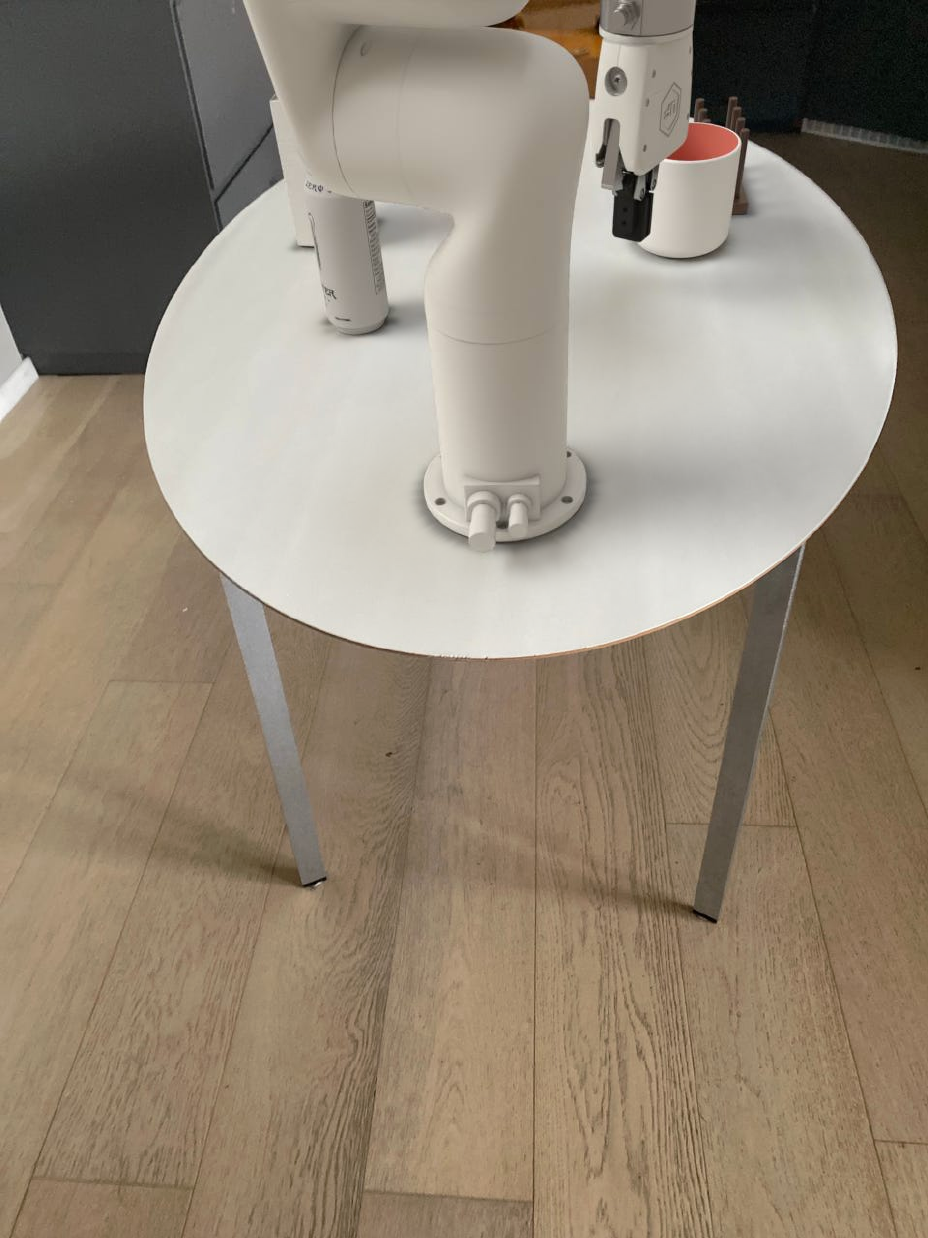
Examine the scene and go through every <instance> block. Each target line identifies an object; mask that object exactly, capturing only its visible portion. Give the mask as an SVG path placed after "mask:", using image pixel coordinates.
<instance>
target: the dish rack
mask: <svg viewBox="0 0 928 1238" xmlns="http://www.w3.org/2000/svg"><path fill="white" fill-rule="evenodd" d="M738 98H739V97H737V96H729V98H728V106H727V114H726V120H725V128H727V129H729V130H731V131H733V132H734V133H736V134H737V135H738V136H739V137H740V139H741V151H740V158H739V165H738V172H737V179H736V186H735V193H734V200H733V207H732V214H731V215H746V214H748V210H749V199H748V197H747V194H746V191H745V188H744V184H743V180H744V179H743V178H744V172H745V164H746V158H747V151H748V144H749V137H750V129H749V128H746V127H745V126H746V118H745V117H742V107H740V106H738ZM711 121H712V120H711V119H709V118H708V109H707V108H705V99H704V98H702V97H699V98H696V99H695V106H694V116H693V122H699V123H708V124H712V123H711Z"/></svg>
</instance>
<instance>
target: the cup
mask: <svg viewBox="0 0 928 1238" xmlns="http://www.w3.org/2000/svg"><path fill="white" fill-rule="evenodd" d="M740 151H741V139H740V137H739V136H738V135H737V134H736V133H734V132H733V131H731V130H729V129H727V128H726V126H725V127H724V126H721V125H717V124H715V123H714V124H713V123H710V124H708V123H699V122H694V121H689V128H688V135H687V138H686V140H685V142H684V143H683V145H682V146H681V147H680V148H678V149H677V150H676V151H675V152H673V153H672V154H671V155H670V156H668V157H667V158H666V159H664V160H663V161H662V162H660V165H659V172H658V179H657V185H656V188H655V190H654V191H649V192H651V193H654V198H653V210H652V221H651V233H650V235H649V236H647V237H646V238H645V239H644V240H643V241H642V242H636V243H637V245H638V246H639V247H641V248H642V249H644V251H647V252H648V253H651V254H653V255H655V256H660V257H665V258H673V259H688V258H695V257H696V258H697V257H700V256H703V255H706V254H708V253H711V252H713V251H715V250H716V249H718V248H719V247H720V246H721V245H722V244H723V243H724V242H725V241H726V240H727V237H728V235H729V233H730V228H731V220H732V215H733V214H732V207H733V200H734V193H735V186H736V179H737V172H738V165H739V158H740Z"/></svg>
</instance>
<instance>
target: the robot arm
mask: <svg viewBox="0 0 928 1238" xmlns="http://www.w3.org/2000/svg"><path fill="white" fill-rule="evenodd" d="M529 2H530V0H242V3H243V6H244V9H245V11H246V14H247V17H248V19H249V23H250V25H251V29H252V31H253V34H254V36H255V39H256V42H257V44H258V48H259V50H260V54H261V56H262V59H263V62H264V65H265V68H266V70H267V73H268V76H269V78H270V82H271V85H272V87H273V90H274V94H275V93H276V95H277V98H278V101H279V104H280V107H281V109H282V112H283V115H284V118H285V121H286V123H287V126H288V129H289V131H290V134H291V137H292V139H293V142H294V144H295V147H296V149H297V151H298V153H299V155H300V157H301V160H302V162H303V163H304V165H305V166H306V168H307V170H308V171H309V172H310V174H311V175H312V176H313V177H314V179H315V180H316V181H317V182H318V183H320V184H321V185H322V186H323V187H325V188H326V189H328V190H330V191H332V192H334V193H337V194H340V195H343V196H347V197H352V198H357V199H363V200H371V201H374V202H381V203H387V204H393V205H395V204H396V205H403V206H410V207H418V208H422V209H425V210H429V211H436V212H440V213H444V214H447V215H448V216H449V217H450V218H452V220H453V227H452V230H450V231H449V233H448V234H447V236H446V237H445V238H444V239H443V240H442V241H441V243H440V244H439V245H438V246H437V248H436V249H435V251H434V252H433V254H432V255H431V257H430V260H429V262H428V263H427V265H426V269H425V273H424V279H423V304H424V312H425V313H424V314H425V318H426V319H425V320H426V327H427V328H426V329H427V336H428V348H429V357H430V367H431V377H432V383H433V384H432V385H433V393H434V394H433V395H434V404H435V413H436V414H435V415H436V425H437V433H438V442H439V453H437V454H436V455H435V456H434V458H433V459H432V461H431V462H430V463H429V465H428V467H427V469H426V471H425V474H424V478H423V492H424V493H423V494H424V499H425V502H426V505H427V508H428V509H429V511H430V513H431V514H432V517H434V518H435V519H436V520H437V521H438V522H439V523H440V524H442V526H444V527H446V528H448V529H449V530H452V531H453V532H455V533H457V534H459V535H463V536H465V537H467V538H468V547H470V549H471V550H473V551H474V552H476V553H484V554H485V553H488V552H490V551H492V550H493V549H494V548H495V546H496V543H497V542H500V543H501V542H516V541H522V540H529V539H532V538H535V537H538V536H539V537H540V536H541V535H545V534H547V533H549V532H551V531H553V530H555V529H557V528H559V527H561V526H562V525H564V524H565V523H566V522H568V521H570V520H571V518H573V516H574V515H575V514H576V513H577V512H578V511H579V509H580V507H581V506H582V504H583V502H584V501H585V496H586V493H587V478H588V477H587V472H586V468H585V466H584V463H583V462H582V460H581V458H580V457H579V456H578V455H577V454H576V452H575V451H574V450H573V449H572V448H570V447H569V446H568V402H569V401H568V396H569V394H568V393H569V340H570V339H569V336H570V335H569V333H570V331H569V330H570V276H571V275H570V271H571V250H572V249H571V248H572V234H573V223H574V216H575V209H576V200H577V195H578V188H579V182H580V177H581V172H582V165H583V159H584V156H585V155H584V154H585V150H586V149H585V148H586V143H587V138H588V131H589V122H590V102H591V101H590V100H591V99H590V91H589V86H588V82H587V77H586V76H585V73H584V71H583V68H582V67H581V66H580V64H579V62H578V61H577V59H576V58H575V56H574V55H573V54H571V53H570V52H569V50H567V49H566V48H565V47H563V46H562V45H561V44H559V43H557V42H556V41H553V40H552V39H550V38H547V37H545V36H542V35H539V34H535V33H533V32H532V33H531V32H529V31H525V30H520V29H519V30H518V29H511V28H505V27H504V28H503V27H490V26H494V25H498V24H500V23H501V24H502V23H504V22H505V21H508V20H509V19H511V18H513V17H515V16H516V15H518V14H519V13H520V12H522V10H523V9H524V8H525V6H526V5H527V4H528V3H529ZM599 3H600V7H599V28H598V32H599V33H598V34H599V36H601V37H603V38H602V40H601V46H600V54H599V59H598V67H597V74H596V75H597V76H596V83H595V84H596V85H595V94H594V105H593V115H592V133H591V134H592V136H591V137H592V138H591V139H592V140H591V150H592V151H591V153H592V161H593V164H594V165H595V167H596V168H598V169H602V175H601V182H600V187H601V189H603V190H608V191H609V190H610V191H611V195H612V196H613V207H612V208H613V209H612V223H611V227H612V228H611V234H612V236H613V237H614V238H617V239H623V240H627V241H631V242H635V243H637V242H642V241H643V240H644V239H645V238H646V237H647V236H649V235H650V233H651V221H652V210H653V198H654V193H651V192H649V191H654V190H655V188H656V185H657V179H658V172H659V165H660V162H662V161H663V160H664V159H666V158H667V157H668V156H670V155H671V154H672V153H673V152H675V151H676V150H677V149H678V148H680V147H681V146H682V145H683V143H684V142H685V140H686V138H687V135H688V128H689V122H690V116H691V115H690V113H691V103H692V101H691V100H692V86H693V85H692V84H693V61H694V47H693V45H694V43H693V41H694V40H693V31H694V25H695V23H694V22H695V16H696V15H695V14H696V6H697V0H600V2H599Z"/></svg>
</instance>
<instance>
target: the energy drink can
mask: <svg viewBox="0 0 928 1238" xmlns="http://www.w3.org/2000/svg"><path fill="white" fill-rule="evenodd" d="M307 172H308V174H307V177H306V180H305V183H304V187H303V189H304V194H305V200H306V205H307V210H308V216H309V221H310V226H311V231H312V237H313V242H314V246H313V247H314V253H315V257H316V262H317V268H318V272H319V273H318V274H319V278H320V284H321V288H322V294H323V299H324V305H325V311H326V315H327V319H328V321H329V322H330V323H331V324H332V325H333V326H334V327H335V328H336V330H337V331H339V332H341V333H342V334H343V333H344V334H346V335H365V334H368V333H371V332H373V331H376V330H378V329H379V328H381V326H382V325H384V323H385V319H386V317H387V316H388V315H389V312H390V307H389V298H388V292H387V283H386V277H385V269H384V263H383V262H384V261H383V254H382V248H381V241H380V233H379V226H378V225H379V224H378V218H377V217H378V216H377V210H376V204H375V201H371V200H363V199H357V198H352V197H347V196H343V195H340V194H337V193H334V192H332V191H330V190H328V189H326V188H325V187H323V186H322V185H321V184H320V183H318V182H317V181H316V180H315V179H314V177H313V176H312V175H311V174H310V172H309V171H308V170H307Z"/></svg>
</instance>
